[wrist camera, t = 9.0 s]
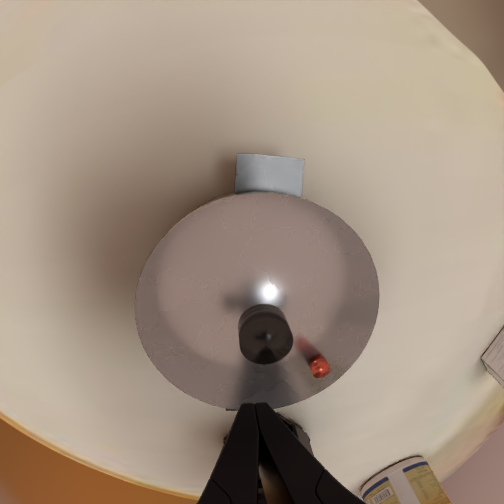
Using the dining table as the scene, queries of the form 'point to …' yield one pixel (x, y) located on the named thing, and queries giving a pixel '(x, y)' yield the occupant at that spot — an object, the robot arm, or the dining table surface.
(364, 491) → the supplement tub
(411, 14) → the dining table surface
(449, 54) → the dining table surface
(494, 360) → the syrup box
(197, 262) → the cooker lid
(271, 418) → the robot arm
